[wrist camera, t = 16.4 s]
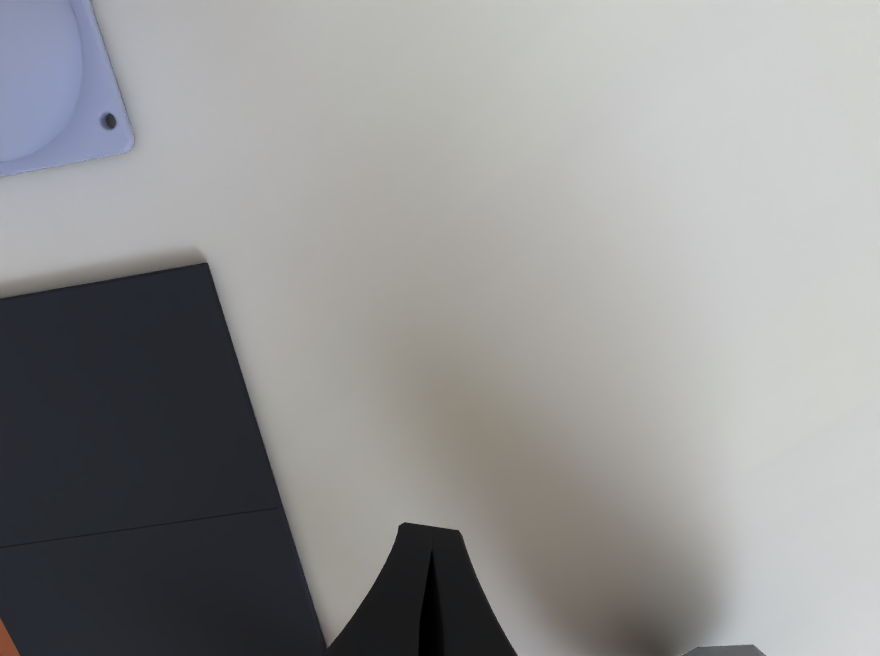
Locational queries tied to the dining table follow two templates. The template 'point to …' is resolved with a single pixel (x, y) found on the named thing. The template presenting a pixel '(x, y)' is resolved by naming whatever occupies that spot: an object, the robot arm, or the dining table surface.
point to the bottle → (726, 651)
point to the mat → (138, 481)
